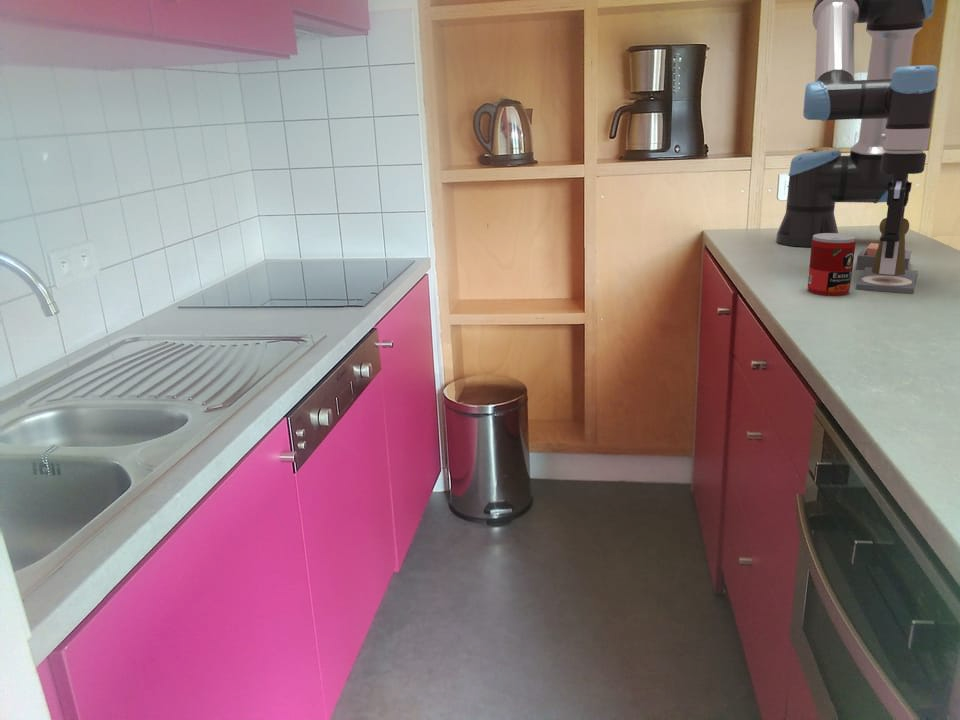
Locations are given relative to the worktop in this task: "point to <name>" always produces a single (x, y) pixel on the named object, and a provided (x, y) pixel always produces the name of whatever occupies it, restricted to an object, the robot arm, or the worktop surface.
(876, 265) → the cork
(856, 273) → the worktop surface
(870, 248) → the button
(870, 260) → the button housing
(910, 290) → the slate board
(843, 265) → the canned food
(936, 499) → the worktop surface
